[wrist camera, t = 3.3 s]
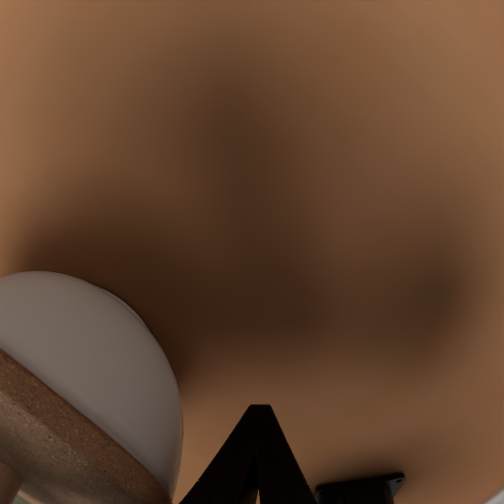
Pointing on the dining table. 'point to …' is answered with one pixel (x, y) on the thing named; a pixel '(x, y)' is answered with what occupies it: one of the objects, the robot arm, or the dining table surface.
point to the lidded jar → (83, 397)
